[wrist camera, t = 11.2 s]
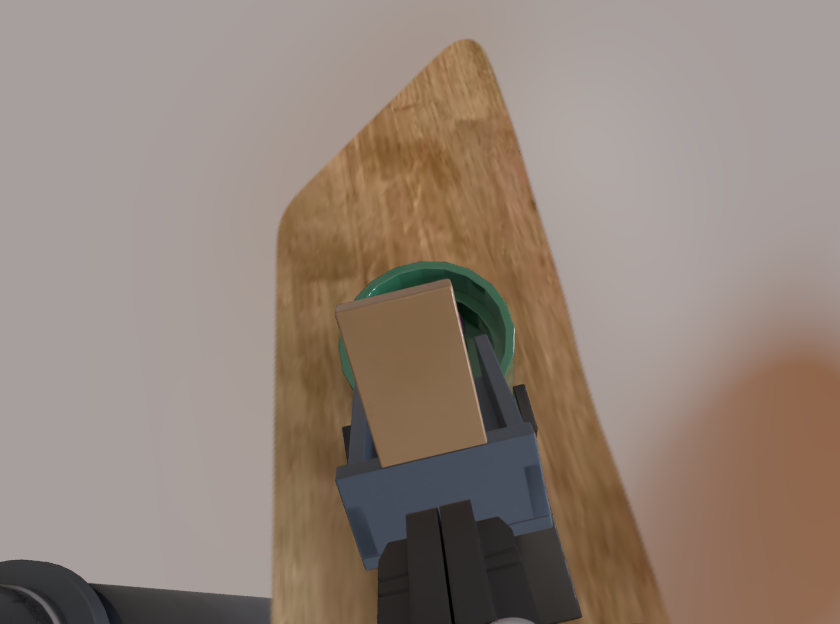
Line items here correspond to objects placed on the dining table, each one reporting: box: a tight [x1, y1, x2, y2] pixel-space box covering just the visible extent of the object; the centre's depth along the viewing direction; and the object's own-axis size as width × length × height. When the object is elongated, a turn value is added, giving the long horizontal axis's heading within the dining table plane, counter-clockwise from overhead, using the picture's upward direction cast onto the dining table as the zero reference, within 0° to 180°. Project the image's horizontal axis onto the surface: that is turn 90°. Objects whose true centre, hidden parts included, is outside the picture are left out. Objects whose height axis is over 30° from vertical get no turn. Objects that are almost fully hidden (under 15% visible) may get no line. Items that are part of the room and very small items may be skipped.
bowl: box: [339, 261, 515, 391], centre depth 36 cm, size 9×9×5 cm
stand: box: [342, 384, 582, 624], centre depth 29 cm, size 9×9×10 cm
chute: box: [335, 279, 553, 570], centre depth 23 cm, size 10×6×8 cm
